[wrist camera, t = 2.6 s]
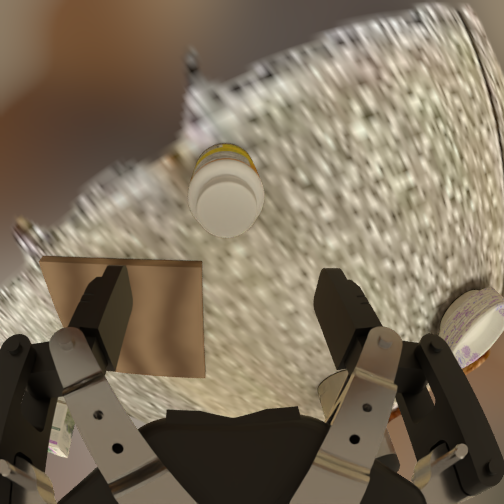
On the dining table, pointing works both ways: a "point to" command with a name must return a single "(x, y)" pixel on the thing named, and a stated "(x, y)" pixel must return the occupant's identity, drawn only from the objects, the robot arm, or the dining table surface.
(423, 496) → the robot arm
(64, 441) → the syrup box
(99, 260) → the walnut board
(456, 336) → the paper bowls
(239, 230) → the supplement bottle
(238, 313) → the dining table surface
